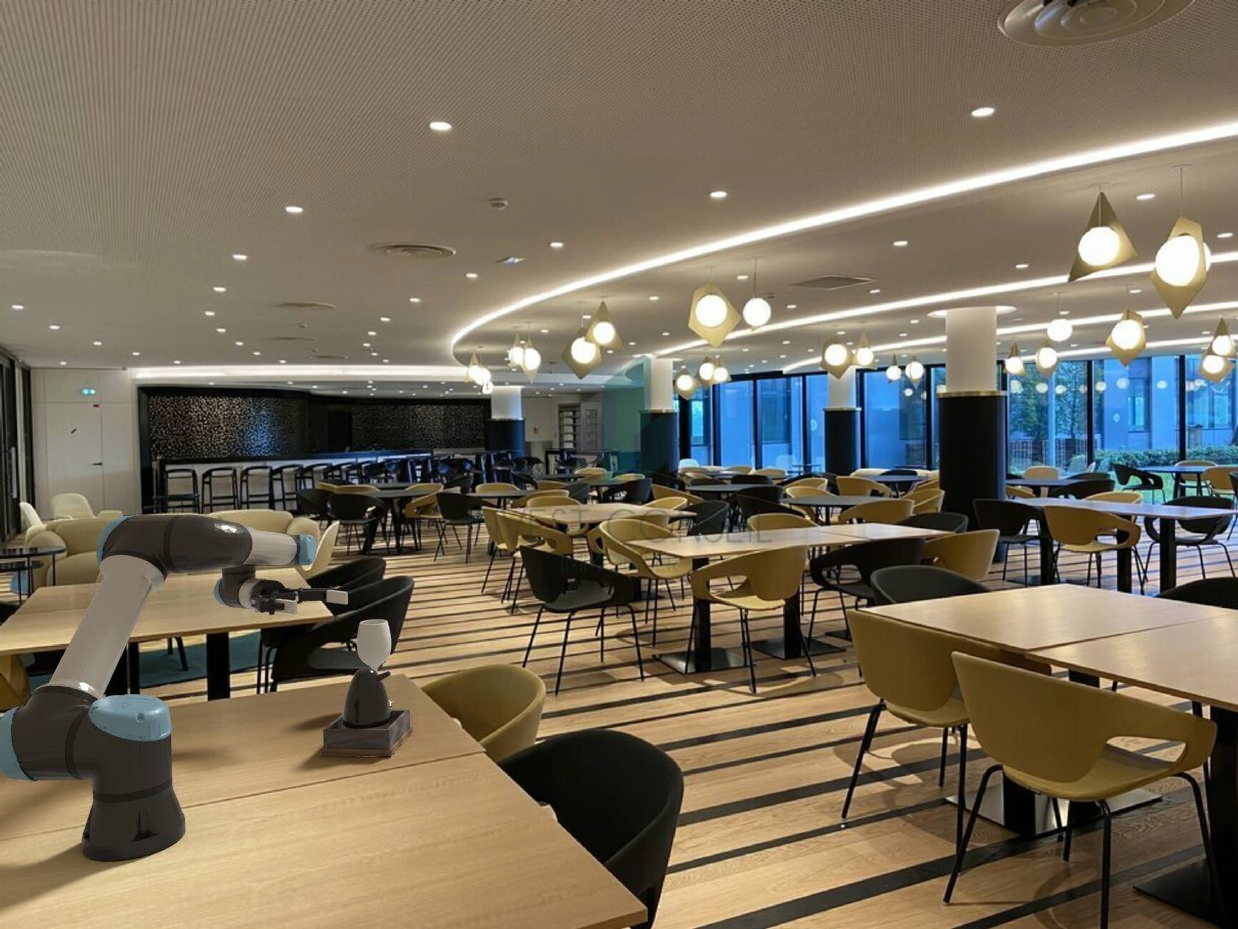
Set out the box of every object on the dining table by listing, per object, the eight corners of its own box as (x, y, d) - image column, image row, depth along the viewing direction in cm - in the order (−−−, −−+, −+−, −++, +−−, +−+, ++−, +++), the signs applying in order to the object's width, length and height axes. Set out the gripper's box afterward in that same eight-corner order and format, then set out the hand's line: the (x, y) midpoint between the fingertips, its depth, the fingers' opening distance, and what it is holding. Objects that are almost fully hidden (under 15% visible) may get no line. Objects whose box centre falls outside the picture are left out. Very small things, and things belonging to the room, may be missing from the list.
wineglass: (398, 701, 227) (396, 618, 226) (386, 711, 218) (384, 625, 217) (365, 700, 227) (363, 618, 227) (351, 711, 219) (349, 625, 218)
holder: (391, 757, 186) (390, 730, 186) (320, 756, 187) (320, 730, 187) (412, 733, 201) (412, 709, 201) (347, 733, 202) (346, 709, 202)
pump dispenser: (385, 745, 189) (383, 673, 189) (336, 746, 189) (334, 674, 189) (398, 729, 199) (396, 661, 199) (351, 730, 199) (349, 662, 199)
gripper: (308, 602, 223) (366, 610, 211) (215, 620, 202) (273, 629, 190) (308, 572, 223) (365, 578, 211) (214, 587, 202) (272, 594, 190)
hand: (321, 602), depth 201 cm, fingers open, 13 cm apart
